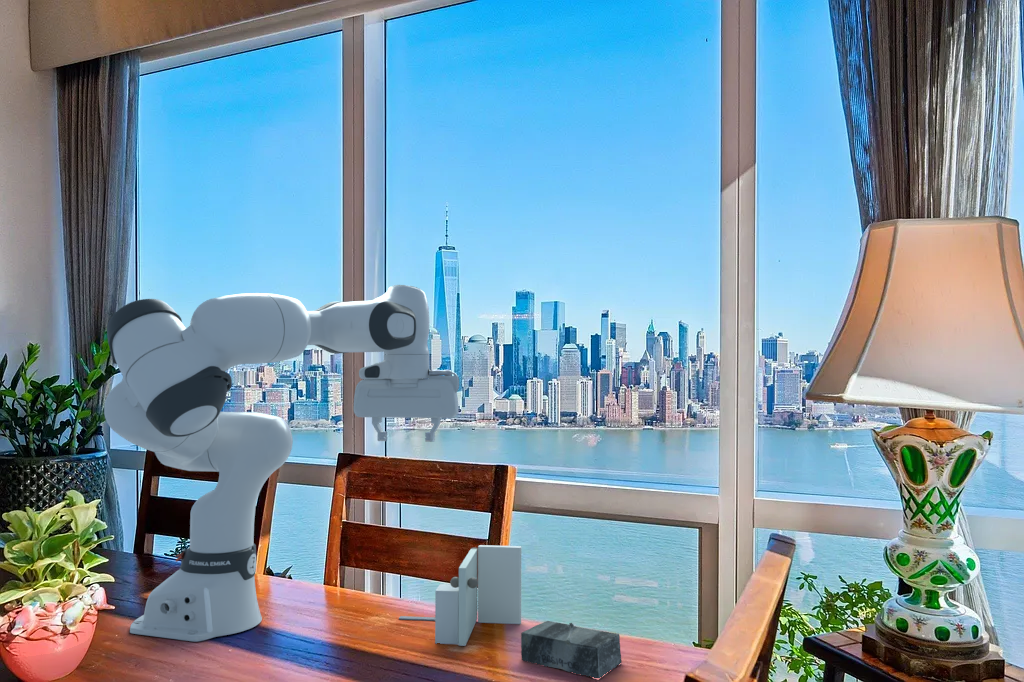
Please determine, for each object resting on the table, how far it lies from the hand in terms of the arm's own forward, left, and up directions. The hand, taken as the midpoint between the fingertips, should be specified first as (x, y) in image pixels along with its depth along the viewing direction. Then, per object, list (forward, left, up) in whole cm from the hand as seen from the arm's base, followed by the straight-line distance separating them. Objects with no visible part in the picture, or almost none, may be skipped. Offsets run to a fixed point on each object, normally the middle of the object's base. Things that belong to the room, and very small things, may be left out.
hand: (406, 441), depth 149 cm
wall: (+11, -3, -33) cm, 35 cm away
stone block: (+33, -20, -34) cm, 51 cm away
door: (+14, -9, -32) cm, 37 cm away
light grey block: (+11, -13, -33) cm, 37 cm away
